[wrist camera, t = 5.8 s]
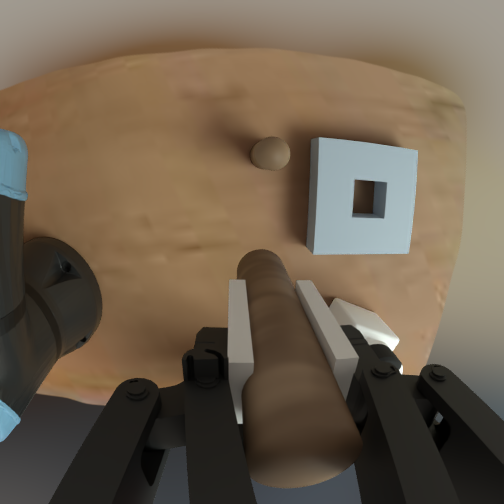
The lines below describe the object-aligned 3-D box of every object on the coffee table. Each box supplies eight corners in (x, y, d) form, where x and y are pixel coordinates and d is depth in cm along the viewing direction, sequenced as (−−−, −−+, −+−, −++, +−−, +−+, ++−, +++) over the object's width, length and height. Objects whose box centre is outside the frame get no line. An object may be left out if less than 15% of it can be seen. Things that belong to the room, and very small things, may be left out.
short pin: (249, 168, 31) (255, 170, 26) (250, 140, 31) (255, 135, 25) (278, 169, 32) (289, 171, 26) (278, 141, 31) (290, 137, 25)
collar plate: (306, 246, 34) (313, 254, 32) (310, 139, 31) (319, 137, 28) (396, 246, 35) (408, 253, 33) (404, 150, 32) (417, 150, 29)
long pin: (236, 293, 20) (243, 490, 6) (237, 248, 19) (246, 429, 6) (282, 293, 20) (346, 480, 7) (285, 249, 19) (377, 416, 6)
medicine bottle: (307, 342, 38) (334, 405, 27) (334, 295, 37) (375, 349, 25) (349, 354, 40) (384, 412, 28) (376, 312, 38) (422, 363, 26)
